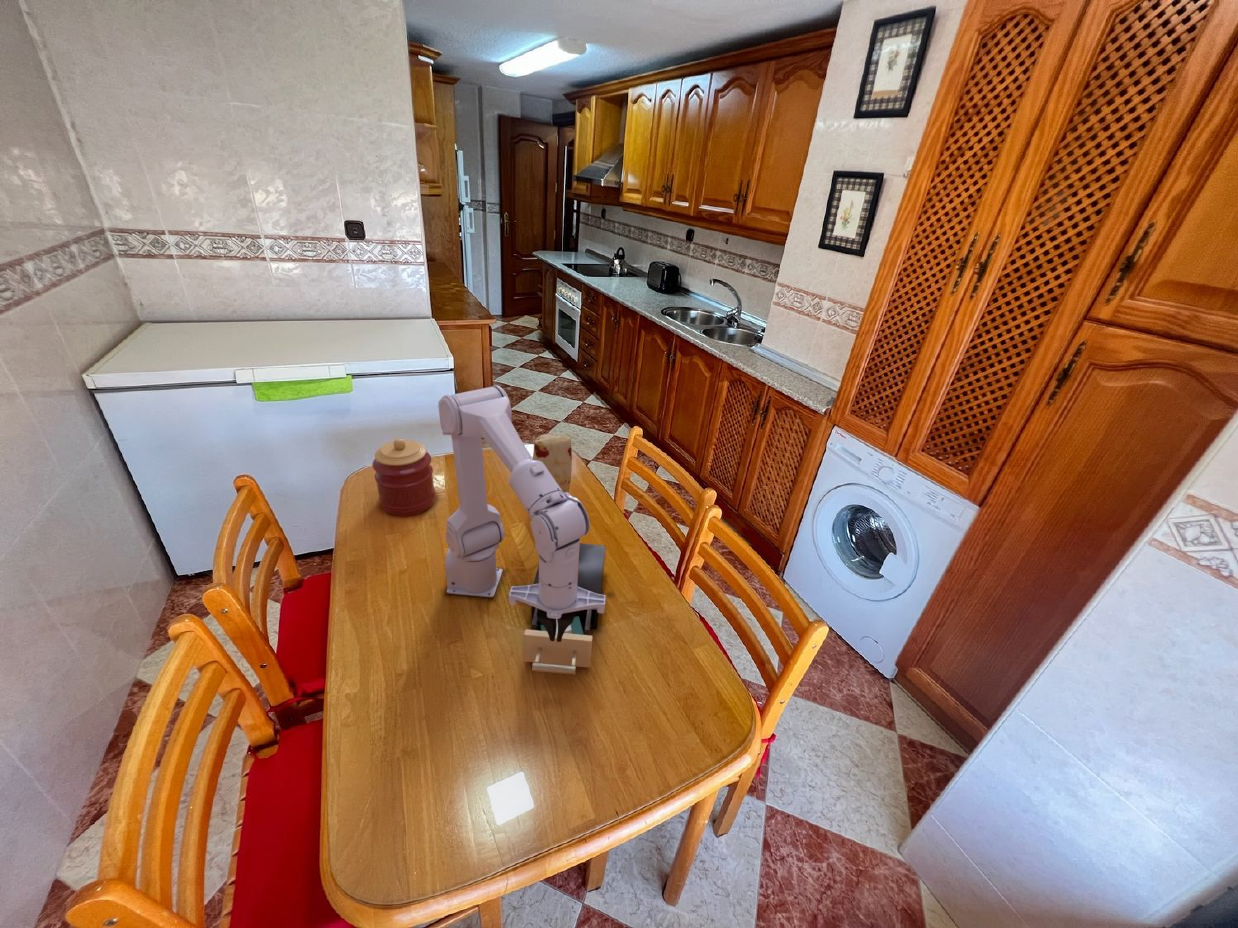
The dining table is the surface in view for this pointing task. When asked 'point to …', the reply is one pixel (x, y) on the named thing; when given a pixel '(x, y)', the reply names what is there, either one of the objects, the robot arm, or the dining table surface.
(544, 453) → the food model
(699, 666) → the dining table surface
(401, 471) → the kitchen canister
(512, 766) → the dining table surface
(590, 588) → the black cabinet
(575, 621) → the toy car
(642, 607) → the dining table surface
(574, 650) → the drawer
